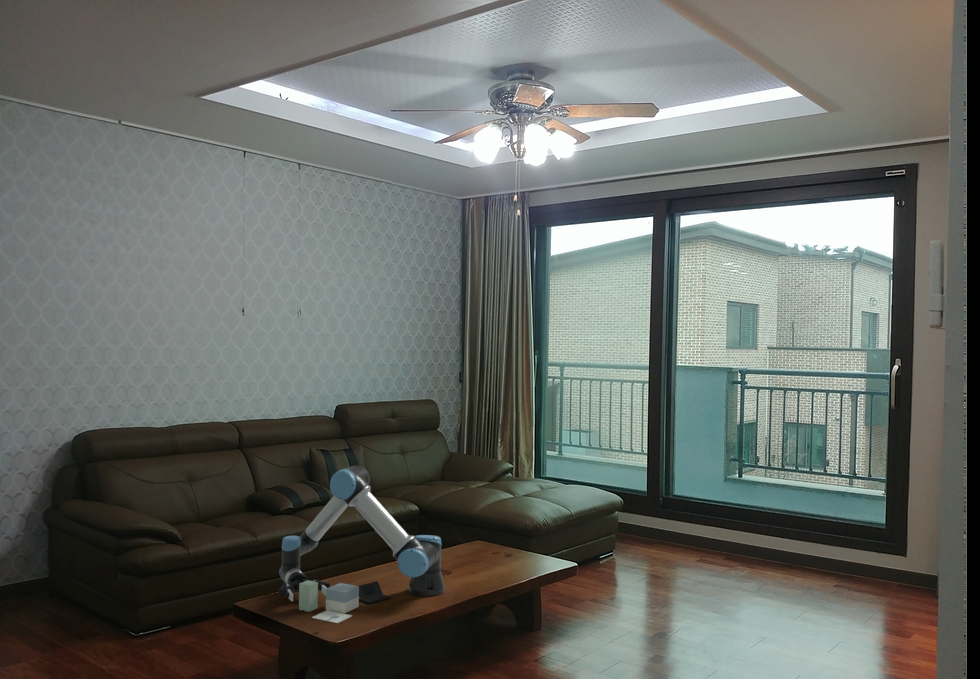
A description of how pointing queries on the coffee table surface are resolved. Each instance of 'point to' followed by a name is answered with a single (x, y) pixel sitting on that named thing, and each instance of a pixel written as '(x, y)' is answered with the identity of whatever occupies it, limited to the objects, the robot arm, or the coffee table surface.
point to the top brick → (308, 596)
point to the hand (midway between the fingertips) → (309, 595)
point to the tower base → (342, 605)
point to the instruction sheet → (332, 616)
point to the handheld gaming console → (371, 593)
